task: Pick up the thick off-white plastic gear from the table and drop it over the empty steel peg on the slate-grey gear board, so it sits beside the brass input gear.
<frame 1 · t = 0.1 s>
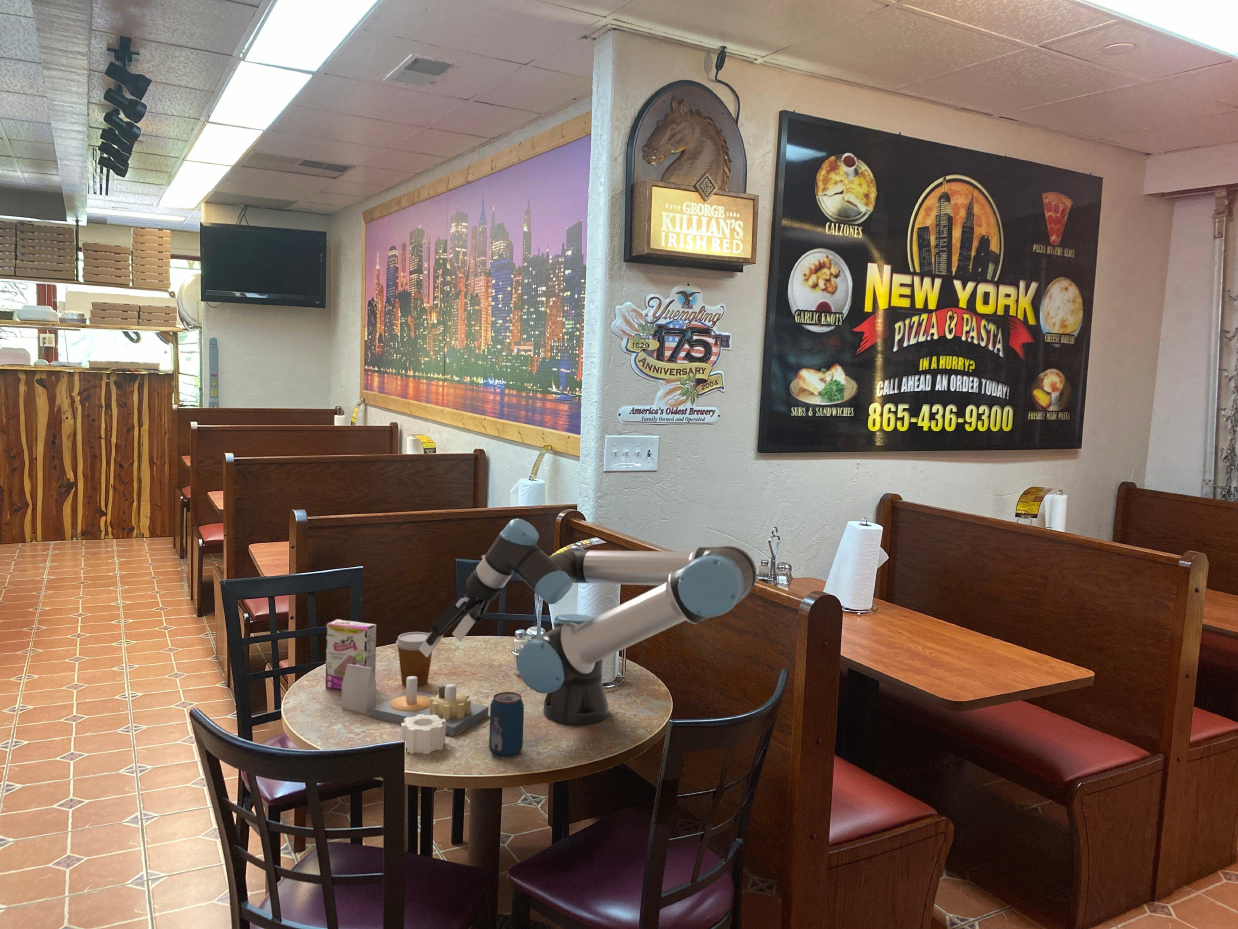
hand: (440, 644, 204), 15 cm above the table, tool tilted 35°, fingers open, 13 cm apart
soda can: (505, 753, 183), on the table
loose gear: (423, 745, 185), on the table
gear board: (430, 716, 201), on the table
disposable coffee cup: (414, 684, 222), on the table
candy bar box: (350, 689, 216), on the table
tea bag: (358, 709, 204), on the table
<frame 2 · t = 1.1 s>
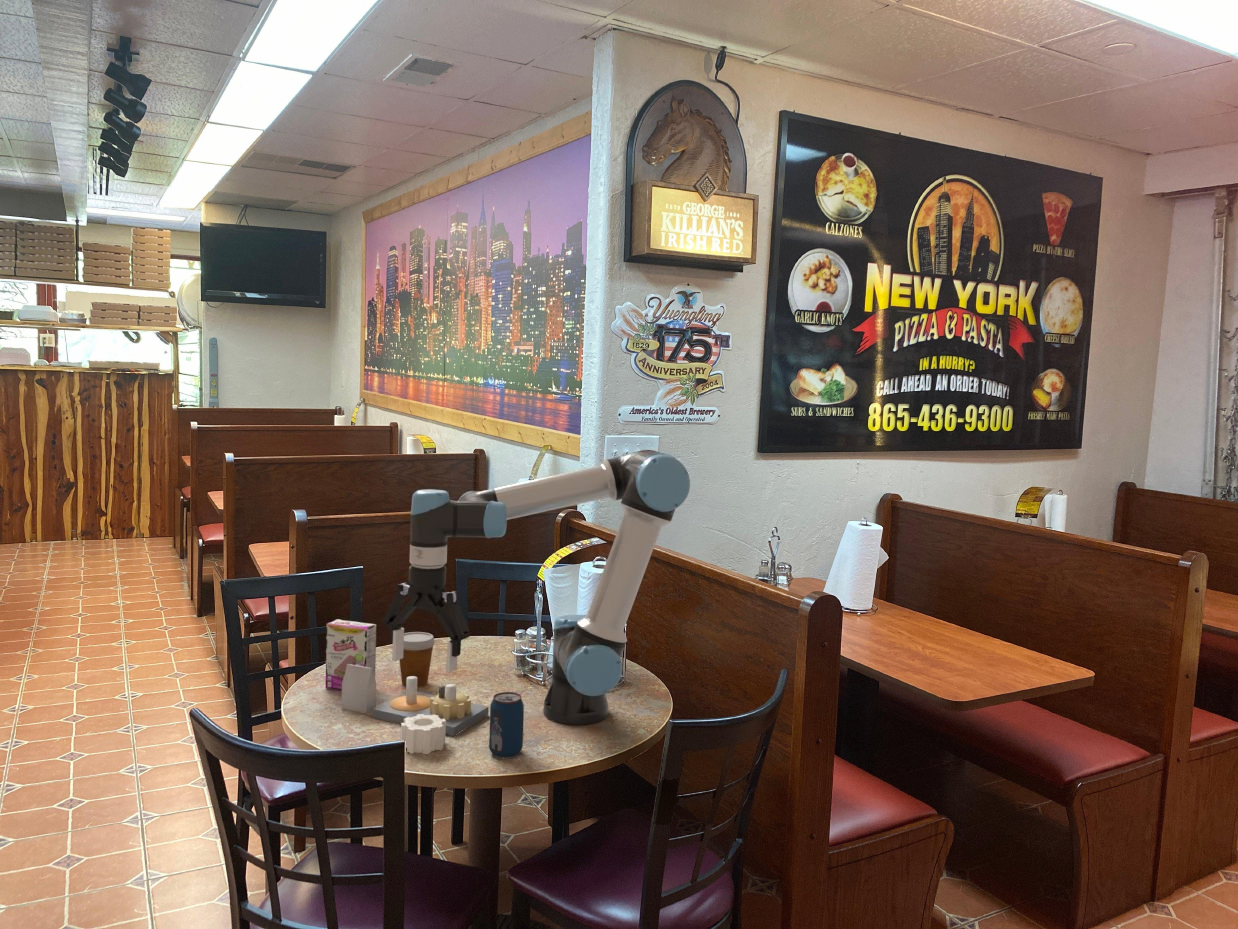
hand: (424, 665, 184), 17 cm above the table, tool pointing down, fingers open, 13 cm apart
nothing on the table moved.
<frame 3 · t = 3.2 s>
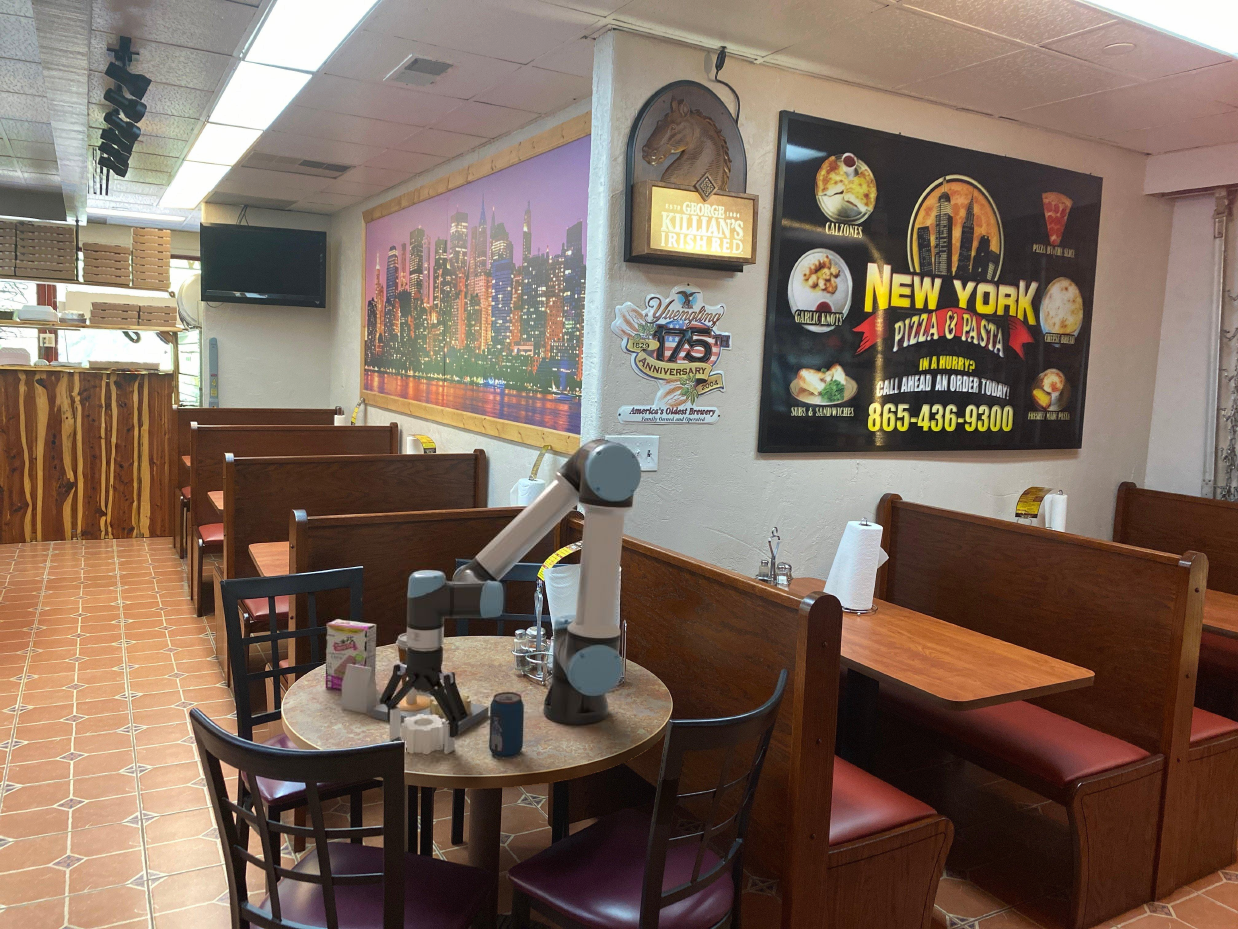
hand: (421, 744, 185), 0 cm above the table, tool pointing down, fingers open, 13 cm apart
nothing on the table moved.
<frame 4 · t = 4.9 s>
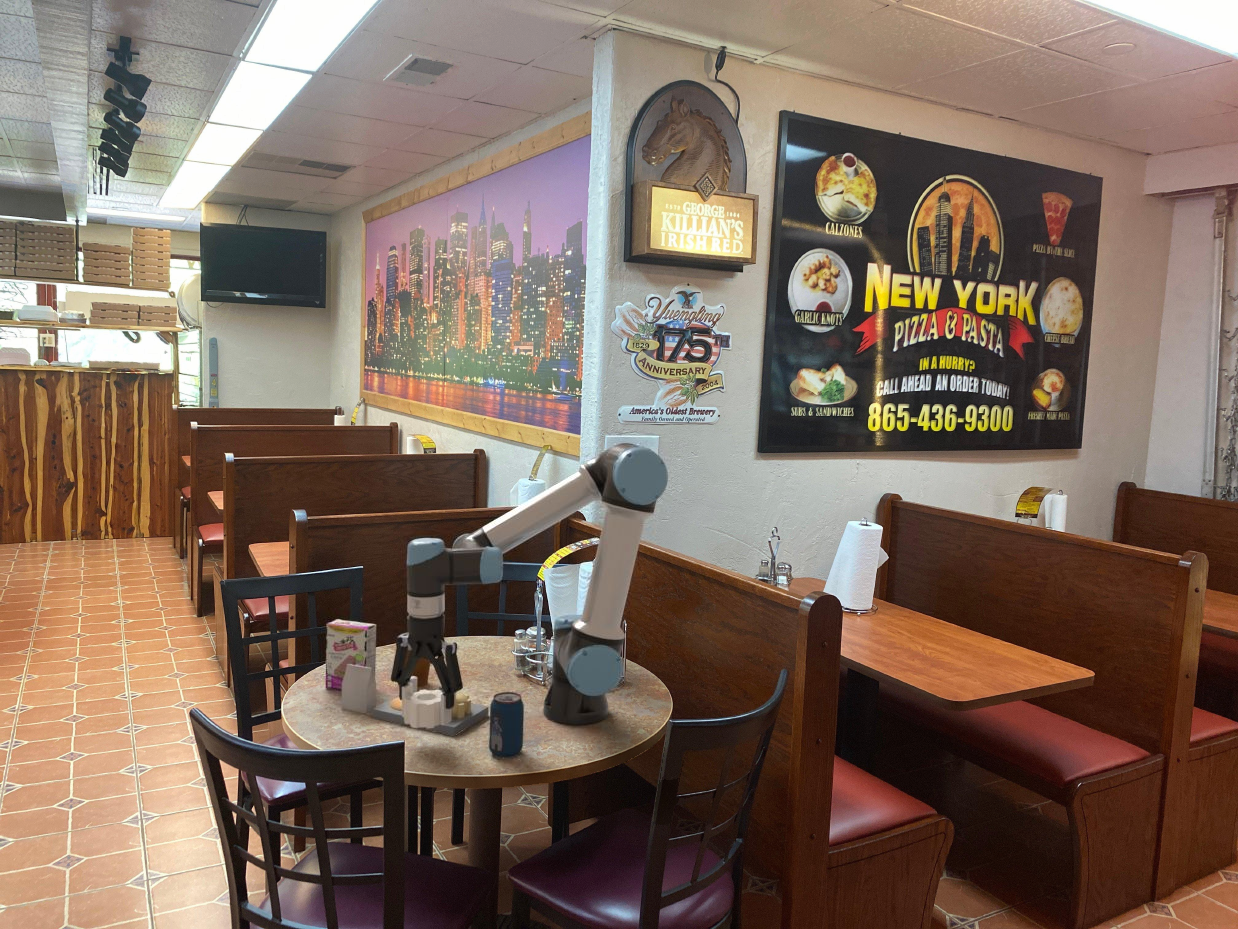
hand: (426, 718, 184), 6 cm above the table, tool pointing down, fingers closed on loose gear, 9 cm apart
loose gear: (426, 720, 184), point 5 cm above the table, touching gripper
everything else where it was.
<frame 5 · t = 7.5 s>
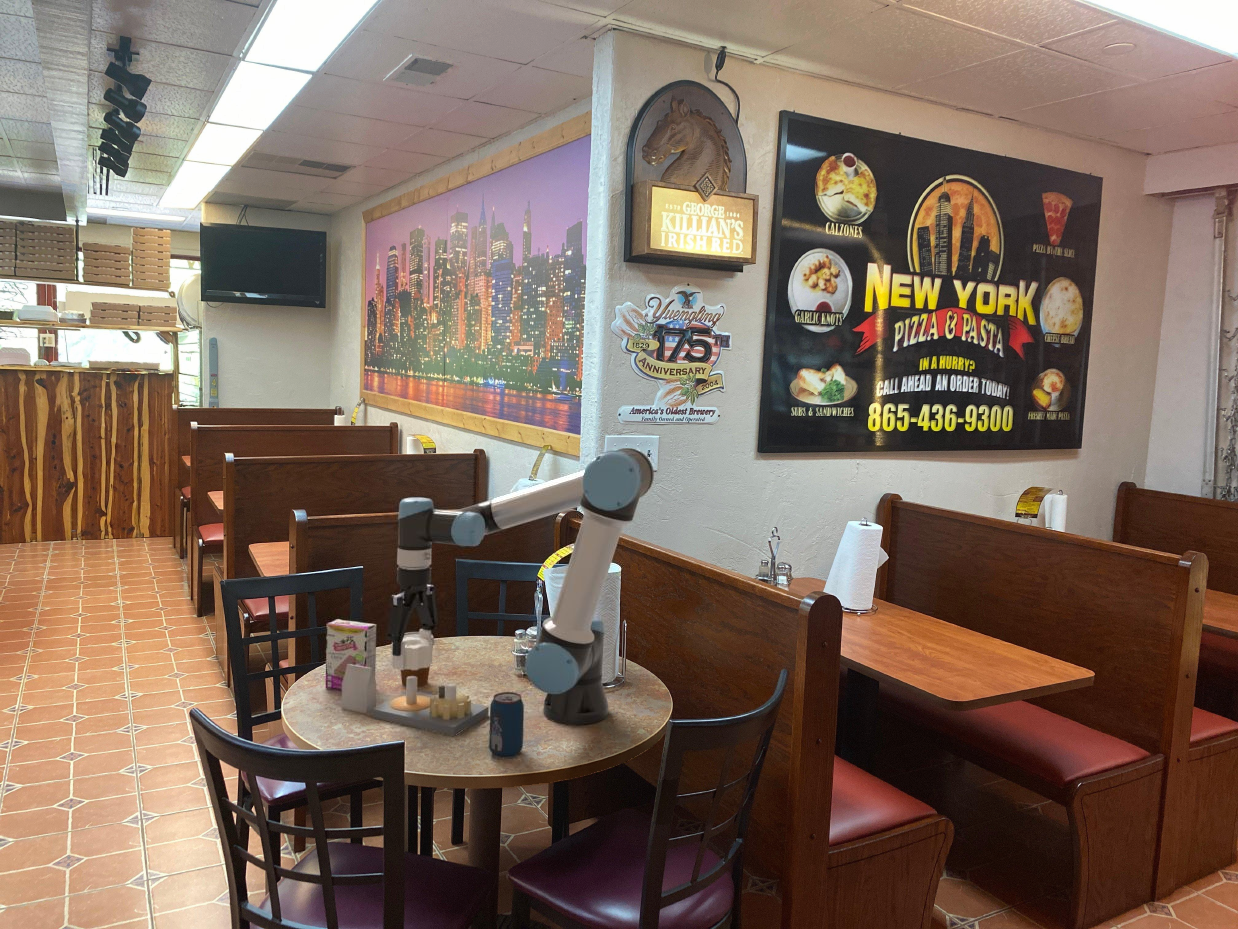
hand: (411, 662, 202), 12 cm above the table, tool pointing down, fingers closed on loose gear, 9 cm apart
loose gear: (411, 663, 202), point 11 cm above the table, touching gripper
everything else where it was.
when the fingers open (3 cm above the table, at t = 10.3 s): loose gear stays where it is, resting on gear board.
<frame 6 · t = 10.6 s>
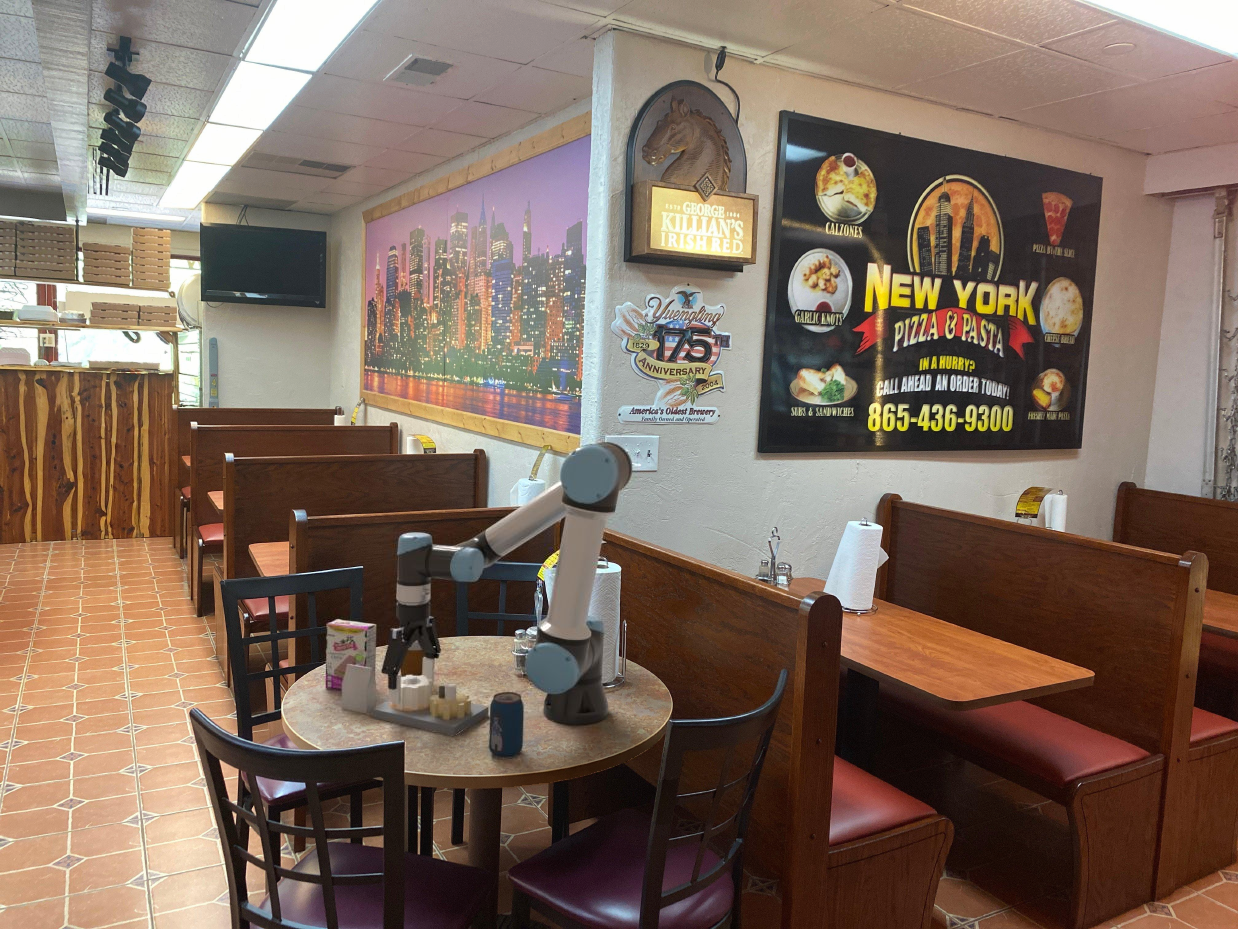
hand: (411, 693, 202), 4 cm above the table, tool pointing down, fingers open, 12 cm apart
loose gear: (411, 702, 203), point 2 cm above the table, touching gear board
everything else where it was.
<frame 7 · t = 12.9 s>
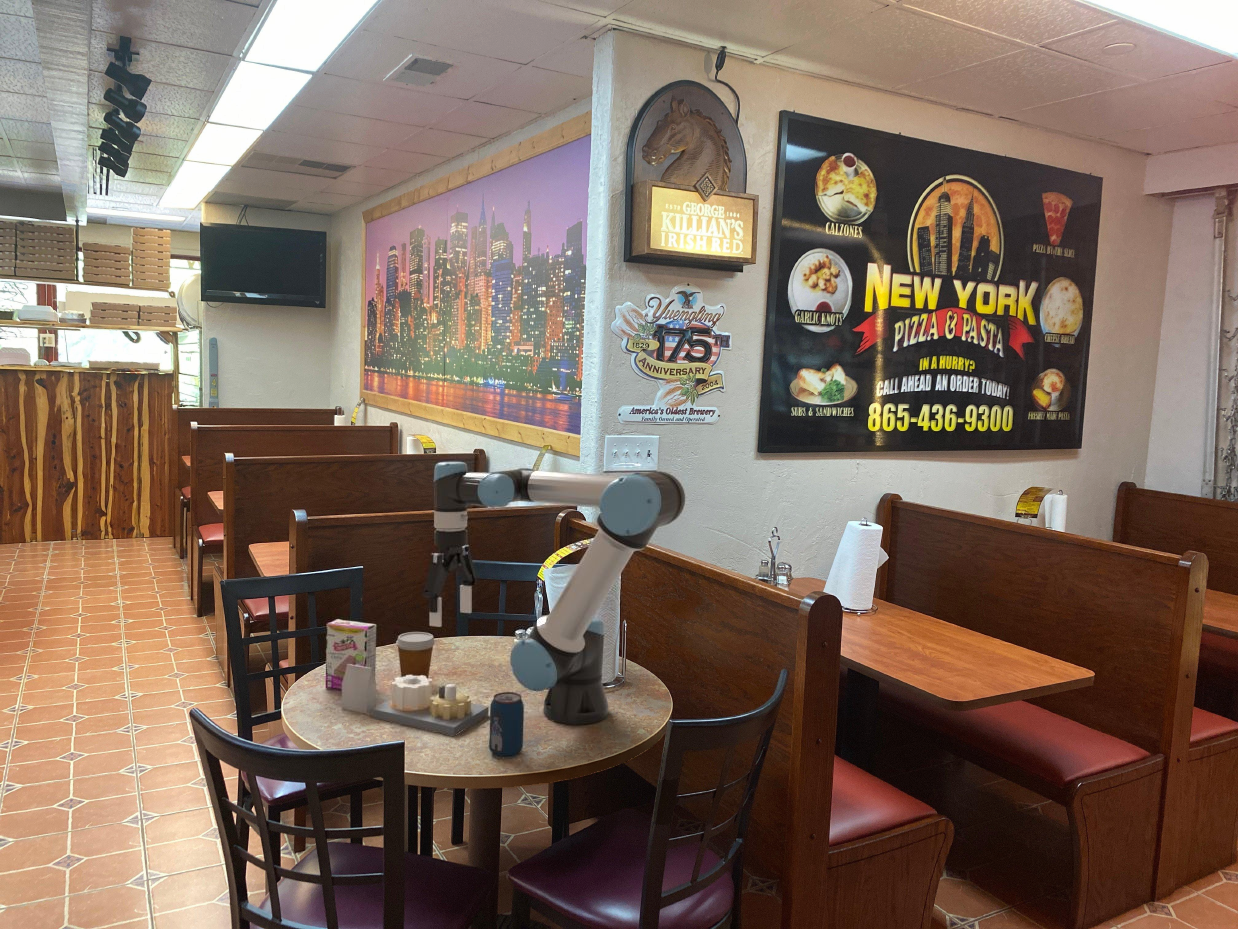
hand: (451, 619, 206), 21 cm above the table, tool pointing down, fingers open, 13 cm apart
nothing on the table moved.
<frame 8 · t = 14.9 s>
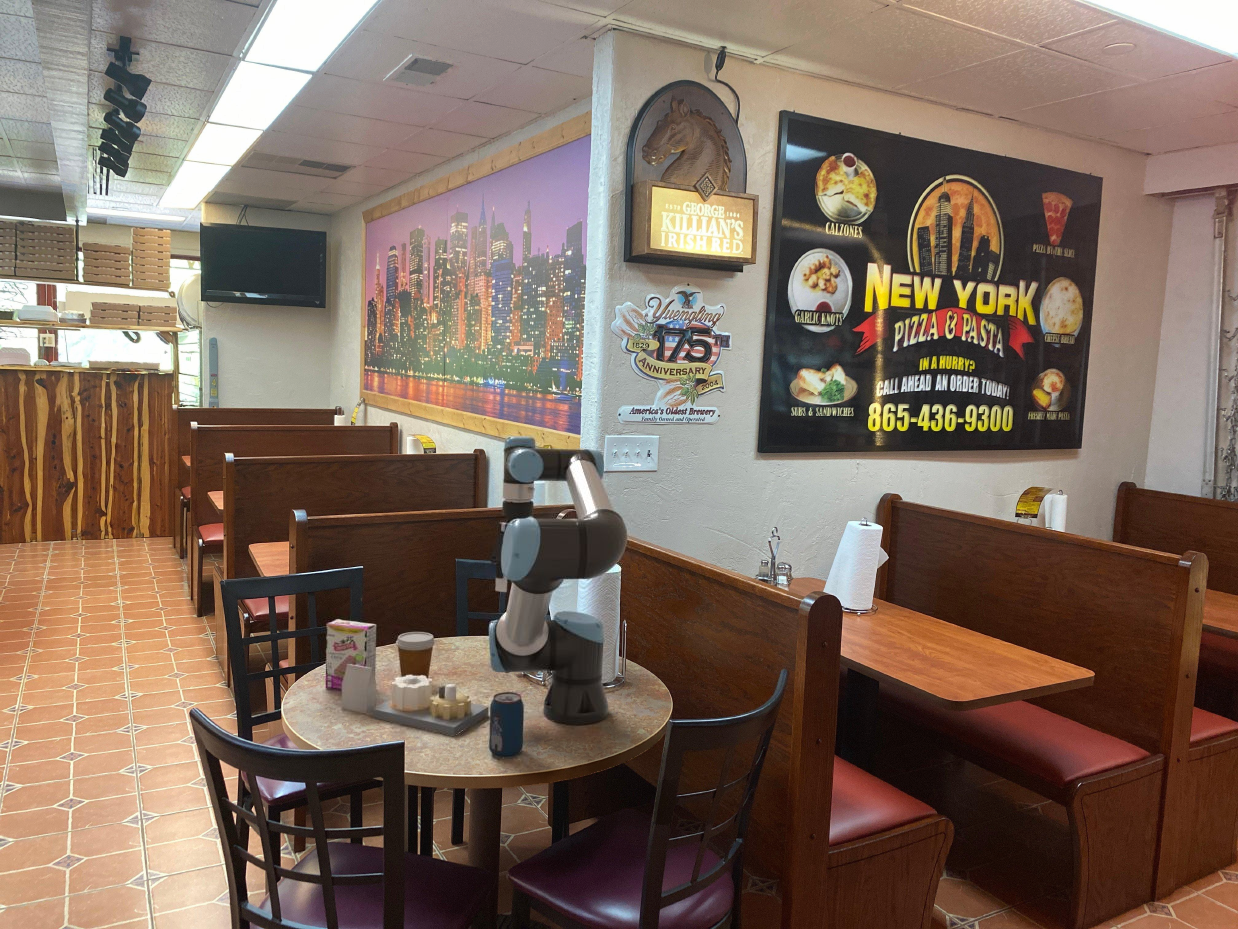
hand: (515, 585, 216), 27 cm above the table, tool pointing down, fingers open, 13 cm apart
nothing on the table moved.
at the end: loose gear 0.1 cm from the target spot on the gear board, point 2.2 cm above the gear board's base; the gripper is holding nothing; loose gear tilted 0° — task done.
